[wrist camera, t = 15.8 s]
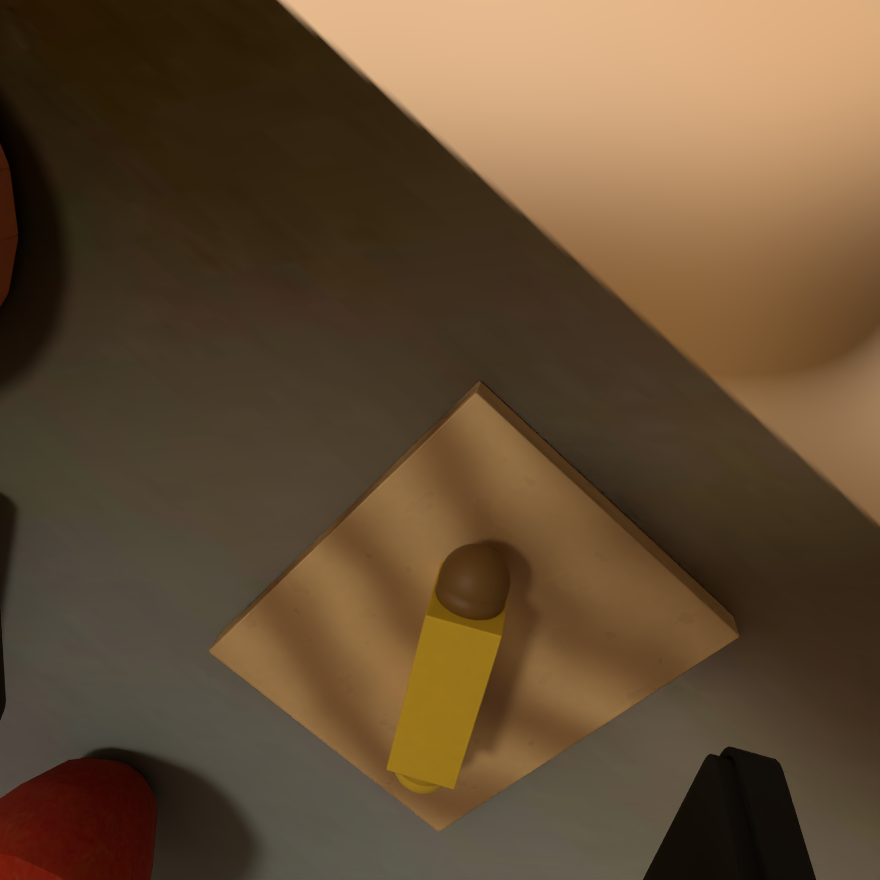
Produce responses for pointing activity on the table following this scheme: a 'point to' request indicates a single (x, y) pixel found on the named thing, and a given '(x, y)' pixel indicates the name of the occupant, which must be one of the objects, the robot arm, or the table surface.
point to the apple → (79, 824)
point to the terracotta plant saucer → (6, 227)
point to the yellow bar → (450, 668)
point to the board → (526, 618)
